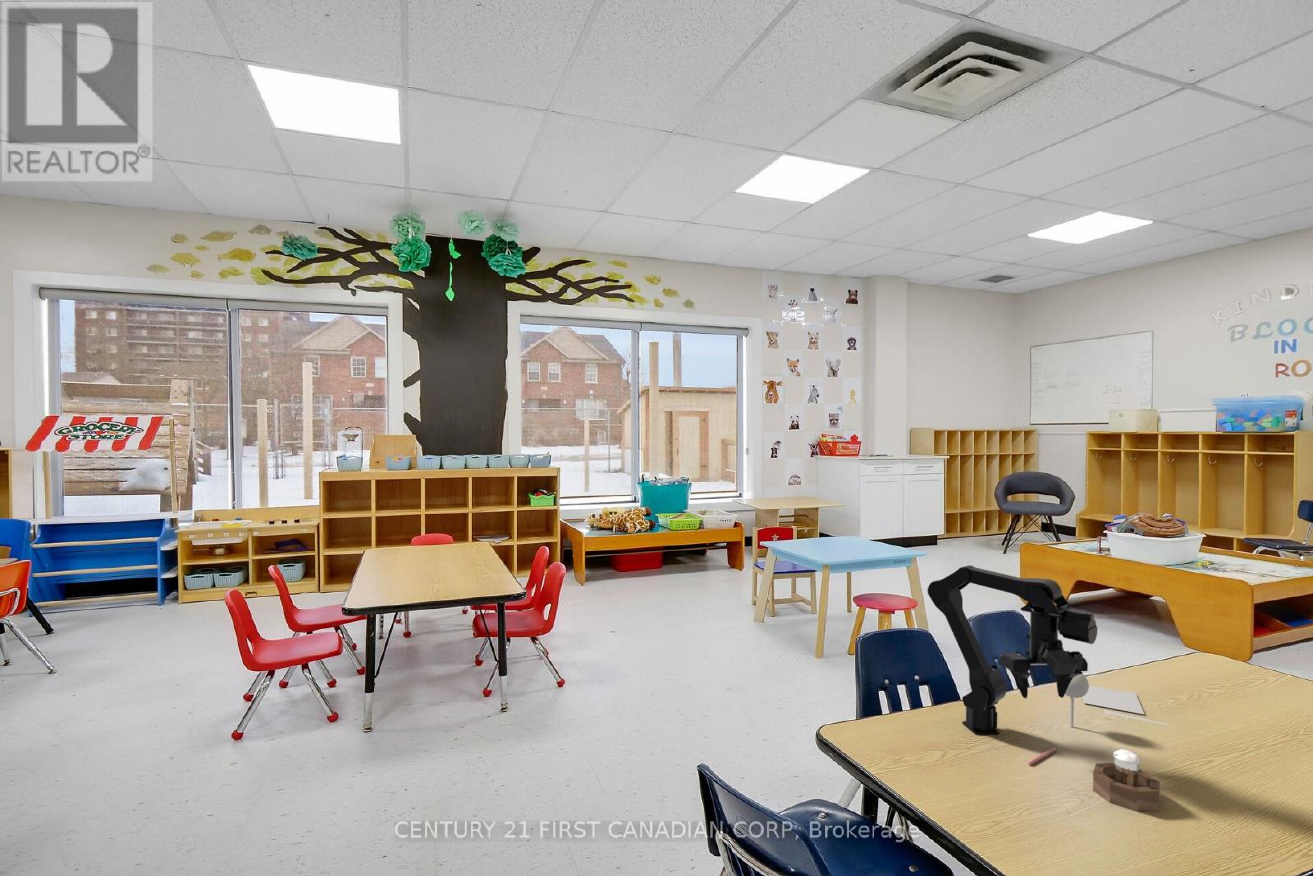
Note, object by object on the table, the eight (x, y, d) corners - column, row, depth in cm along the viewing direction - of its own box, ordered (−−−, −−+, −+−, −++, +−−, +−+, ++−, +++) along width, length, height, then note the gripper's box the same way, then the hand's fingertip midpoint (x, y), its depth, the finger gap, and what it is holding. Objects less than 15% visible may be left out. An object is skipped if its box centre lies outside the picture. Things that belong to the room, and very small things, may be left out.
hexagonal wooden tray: (1122, 812, 128) (1122, 792, 128) (1081, 782, 139) (1082, 763, 139) (1173, 810, 129) (1173, 790, 129) (1128, 780, 140) (1128, 762, 140)
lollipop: (1078, 721, 169) (1079, 665, 169) (1094, 734, 162) (1095, 675, 162) (1050, 720, 170) (1051, 664, 170) (1064, 732, 163) (1065, 674, 163)
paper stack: (1176, 703, 183) (1176, 700, 183) (1196, 738, 161) (1196, 735, 161) (1079, 685, 195) (1079, 683, 195) (1085, 716, 173) (1085, 713, 173)
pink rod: (1030, 766, 146) (1031, 762, 146) (1027, 764, 146) (1027, 761, 146) (1056, 751, 153) (1056, 747, 153) (1053, 749, 154) (1053, 746, 154)
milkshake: (1104, 787, 137) (1105, 741, 137) (1133, 791, 136) (1134, 745, 136) (1113, 798, 133) (1114, 751, 133) (1143, 803, 131) (1144, 755, 131)
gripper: (1029, 644, 144) (1028, 713, 144) (1106, 643, 145) (1105, 711, 145) (999, 629, 155) (997, 693, 155) (1071, 628, 156) (1069, 691, 157)
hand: (1042, 697), depth 153 cm, fingers open, 9 cm apart
